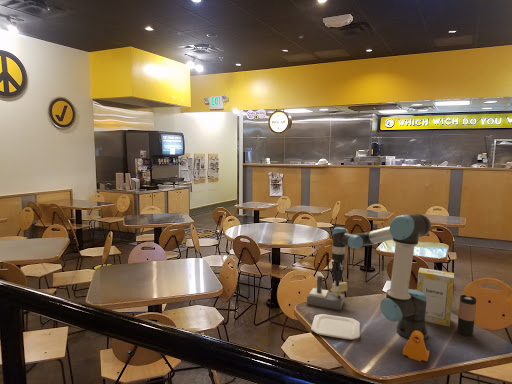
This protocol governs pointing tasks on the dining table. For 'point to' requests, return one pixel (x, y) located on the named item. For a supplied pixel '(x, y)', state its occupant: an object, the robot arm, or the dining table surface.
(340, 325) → the plate
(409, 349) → the bracket
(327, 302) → the block
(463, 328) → the travel mug
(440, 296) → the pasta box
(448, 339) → the dining table surface
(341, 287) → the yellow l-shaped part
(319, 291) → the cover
